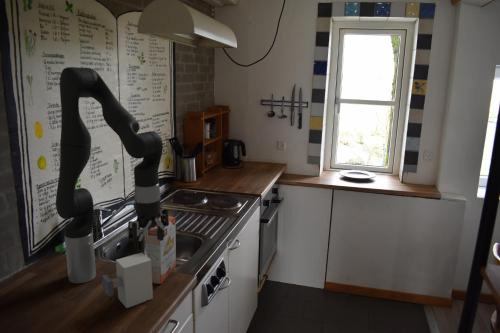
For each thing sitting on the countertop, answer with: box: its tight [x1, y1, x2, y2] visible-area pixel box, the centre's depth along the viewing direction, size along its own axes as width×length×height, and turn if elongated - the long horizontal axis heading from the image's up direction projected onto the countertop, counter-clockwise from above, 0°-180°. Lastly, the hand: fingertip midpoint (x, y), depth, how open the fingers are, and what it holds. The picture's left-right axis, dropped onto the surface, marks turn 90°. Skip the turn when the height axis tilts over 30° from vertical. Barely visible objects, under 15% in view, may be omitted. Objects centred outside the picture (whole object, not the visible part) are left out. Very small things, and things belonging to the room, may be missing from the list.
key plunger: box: [101, 273, 123, 298], centre depth 122 cm, size 5×8×5 cm, turn 130°
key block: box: [115, 252, 154, 309], centre depth 126 cm, size 7×9×14 cm
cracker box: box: [145, 215, 177, 285], centre depth 141 cm, size 14×6×21 cm, turn 168°
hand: (150, 245), depth 121 cm, fingers open, 8 cm apart
